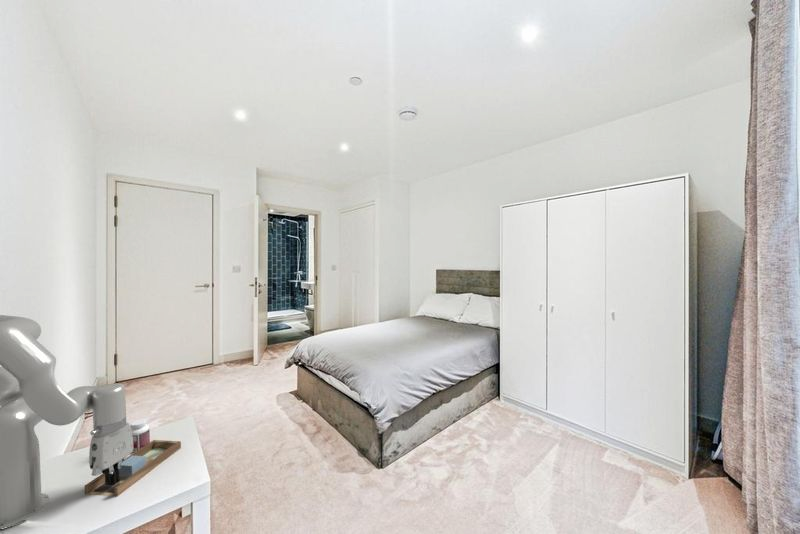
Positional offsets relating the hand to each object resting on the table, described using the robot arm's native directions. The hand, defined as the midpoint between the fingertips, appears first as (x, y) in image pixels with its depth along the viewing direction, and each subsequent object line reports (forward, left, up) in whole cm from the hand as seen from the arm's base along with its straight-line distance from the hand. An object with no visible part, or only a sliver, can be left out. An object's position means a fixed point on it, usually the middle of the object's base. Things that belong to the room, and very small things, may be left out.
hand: (112, 483), depth 98 cm
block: (0, +7, -1) cm, 7 cm away
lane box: (0, +9, -2) cm, 9 cm away
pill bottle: (-10, +19, -2) cm, 22 cm away
